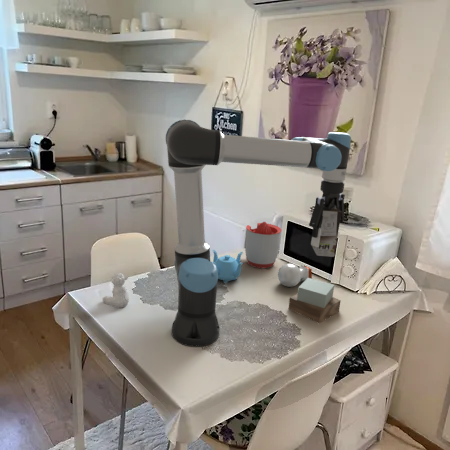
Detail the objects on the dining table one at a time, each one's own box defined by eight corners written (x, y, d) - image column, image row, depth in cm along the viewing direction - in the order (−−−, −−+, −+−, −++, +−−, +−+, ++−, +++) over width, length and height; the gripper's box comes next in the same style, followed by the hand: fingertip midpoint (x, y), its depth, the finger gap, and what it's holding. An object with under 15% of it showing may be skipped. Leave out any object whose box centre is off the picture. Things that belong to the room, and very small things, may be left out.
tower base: (318, 324, 147) (320, 311, 145) (288, 309, 155) (289, 297, 154) (338, 312, 155) (340, 300, 154) (308, 299, 164) (310, 287, 163)
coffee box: (335, 257, 145) (342, 211, 140) (316, 255, 145) (322, 210, 140) (329, 247, 154) (335, 204, 149) (311, 246, 154) (317, 203, 149)
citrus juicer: (258, 253, 205) (262, 213, 199) (284, 266, 192) (289, 224, 186) (233, 259, 196) (236, 218, 190) (259, 273, 183) (263, 229, 177)
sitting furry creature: (127, 295, 157) (126, 265, 153) (137, 305, 150) (137, 274, 146) (101, 301, 151) (101, 270, 147) (111, 312, 145) (110, 280, 141)
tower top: (324, 308, 147) (326, 295, 146) (296, 299, 152) (298, 287, 151) (332, 297, 156) (334, 284, 154) (306, 289, 160) (308, 277, 159)
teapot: (241, 273, 182) (243, 251, 179) (241, 287, 169) (243, 263, 166) (211, 271, 182) (212, 249, 179) (209, 284, 170) (210, 261, 167)
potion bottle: (275, 290, 172) (301, 286, 181) (292, 284, 164) (318, 281, 173) (270, 268, 174) (295, 265, 183) (286, 261, 167) (312, 259, 176)
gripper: (322, 186, 131) (313, 253, 138) (361, 179, 147) (351, 239, 154) (303, 181, 136) (295, 246, 143) (342, 175, 152) (333, 233, 159)
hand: (324, 242), depth 148 cm, fingers closed on coffee box, 10 cm apart
